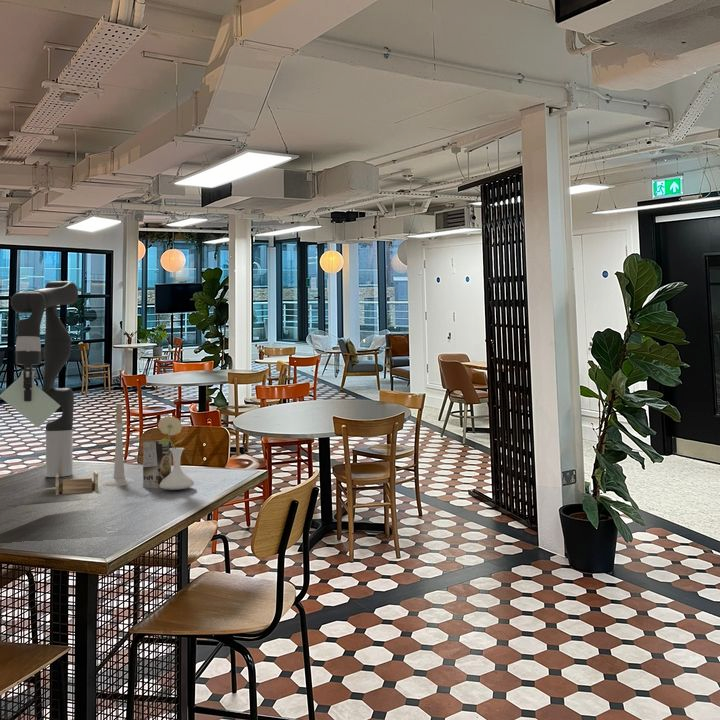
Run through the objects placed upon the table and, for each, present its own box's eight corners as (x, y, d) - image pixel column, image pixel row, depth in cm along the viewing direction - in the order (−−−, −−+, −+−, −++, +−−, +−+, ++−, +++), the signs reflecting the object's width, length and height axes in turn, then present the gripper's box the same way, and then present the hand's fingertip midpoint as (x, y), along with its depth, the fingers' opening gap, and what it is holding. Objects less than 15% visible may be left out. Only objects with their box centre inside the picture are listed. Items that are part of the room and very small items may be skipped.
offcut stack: (62, 492, 211) (62, 479, 211) (91, 490, 215) (91, 477, 216) (62, 494, 208) (62, 480, 208) (92, 491, 212) (92, 478, 212)
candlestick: (145, 484, 227) (144, 401, 229) (112, 489, 217) (112, 402, 219) (124, 482, 235) (124, 402, 236) (92, 486, 224) (93, 402, 226)
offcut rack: (55, 490, 215) (55, 473, 215) (95, 487, 221) (95, 470, 221) (55, 494, 206) (55, 476, 206) (97, 491, 211) (97, 473, 212)
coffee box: (159, 488, 216) (159, 441, 217) (142, 488, 217) (142, 441, 218) (172, 484, 225) (172, 439, 226) (156, 484, 226) (155, 439, 227)
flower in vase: (200, 487, 216) (200, 414, 218) (182, 492, 205) (182, 415, 207) (167, 486, 220) (167, 415, 221) (148, 491, 209) (147, 416, 210)
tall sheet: (38, 427, 214) (-1, 396, 210) (60, 405, 218) (23, 374, 213) (38, 427, 211) (-2, 396, 207) (60, 405, 215) (22, 374, 210)
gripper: (16, 351, 218) (16, 401, 217) (14, 348, 205) (14, 401, 204) (40, 352, 221) (40, 401, 220) (40, 349, 208) (40, 400, 207)
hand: (27, 401), depth 212 cm, fingers closed on tall sheet, 3 cm apart
